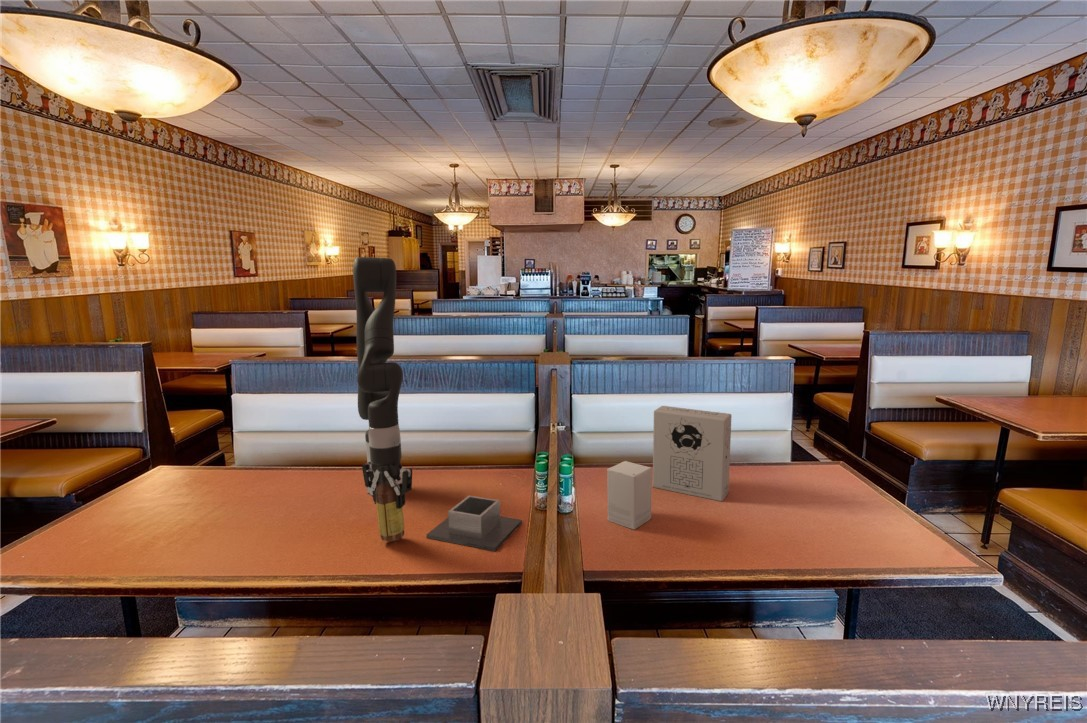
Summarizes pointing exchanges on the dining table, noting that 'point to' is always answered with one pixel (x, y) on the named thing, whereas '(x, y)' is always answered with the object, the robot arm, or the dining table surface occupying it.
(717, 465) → the cereal box
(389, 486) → the sauce bottle
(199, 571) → the dining table surface
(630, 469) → the supplement box
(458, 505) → the condiment holder
